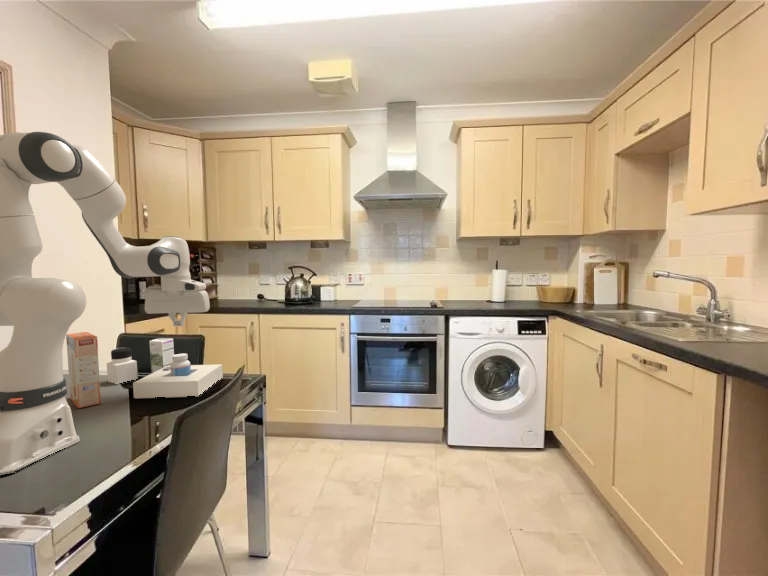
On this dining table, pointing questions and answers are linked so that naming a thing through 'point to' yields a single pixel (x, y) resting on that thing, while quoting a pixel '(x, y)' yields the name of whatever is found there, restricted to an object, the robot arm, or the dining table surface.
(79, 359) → the cracker box
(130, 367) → the medicine bottle
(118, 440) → the dining table surface
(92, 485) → the dining table surface
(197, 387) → the socket block
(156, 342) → the syrup box
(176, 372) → the pill bottle
